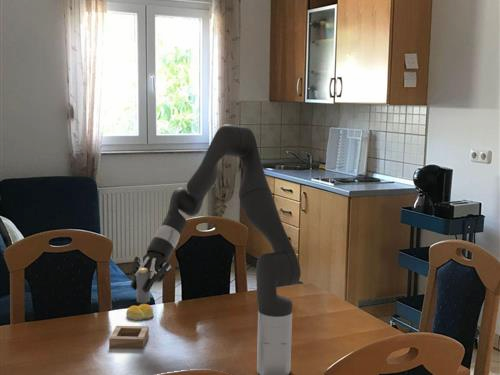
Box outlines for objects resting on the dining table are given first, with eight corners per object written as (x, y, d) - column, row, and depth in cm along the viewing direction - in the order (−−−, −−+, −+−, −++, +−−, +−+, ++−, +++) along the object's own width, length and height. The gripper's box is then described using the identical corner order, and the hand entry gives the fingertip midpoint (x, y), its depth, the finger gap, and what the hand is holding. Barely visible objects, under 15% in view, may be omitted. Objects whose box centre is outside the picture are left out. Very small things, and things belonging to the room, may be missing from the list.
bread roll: (123, 314, 203) (123, 303, 203) (149, 311, 207) (149, 300, 206) (129, 322, 196) (129, 311, 195) (156, 318, 199) (156, 307, 199)
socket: (143, 348, 175) (142, 339, 174) (109, 348, 175) (109, 338, 174) (148, 335, 185) (148, 326, 184) (116, 334, 185) (116, 325, 184)
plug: (148, 303, 179) (148, 271, 178) (135, 302, 179) (135, 270, 178) (150, 298, 183) (150, 267, 182) (138, 298, 183) (137, 267, 182)
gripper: (141, 233, 189) (114, 279, 180) (176, 239, 181) (151, 287, 173) (152, 246, 194) (127, 291, 185) (187, 252, 187) (162, 300, 178)
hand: (138, 289), depth 179 cm, fingers closed on plug, 4 cm apart
